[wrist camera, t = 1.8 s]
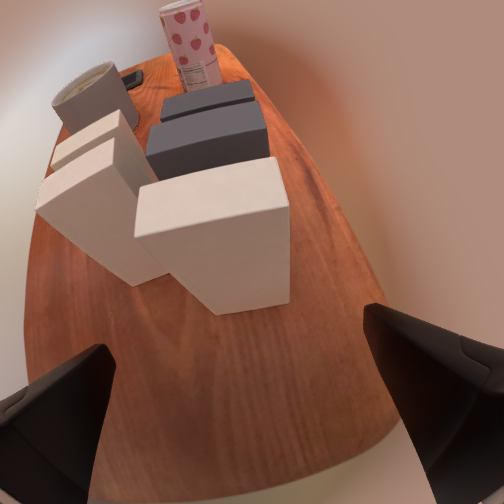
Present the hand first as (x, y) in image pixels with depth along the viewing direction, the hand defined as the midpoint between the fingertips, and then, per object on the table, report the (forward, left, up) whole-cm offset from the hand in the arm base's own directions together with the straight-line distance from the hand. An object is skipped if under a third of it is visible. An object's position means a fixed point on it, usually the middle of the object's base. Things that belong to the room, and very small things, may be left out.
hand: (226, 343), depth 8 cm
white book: (+5, +1, -11) cm, 12 cm away
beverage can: (+35, +8, -11) cm, 37 cm away
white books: (+10, +9, -11) cm, 17 cm away
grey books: (+11, +2, -11) cm, 16 cm away
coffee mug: (+31, +23, -11) cm, 40 cm away
